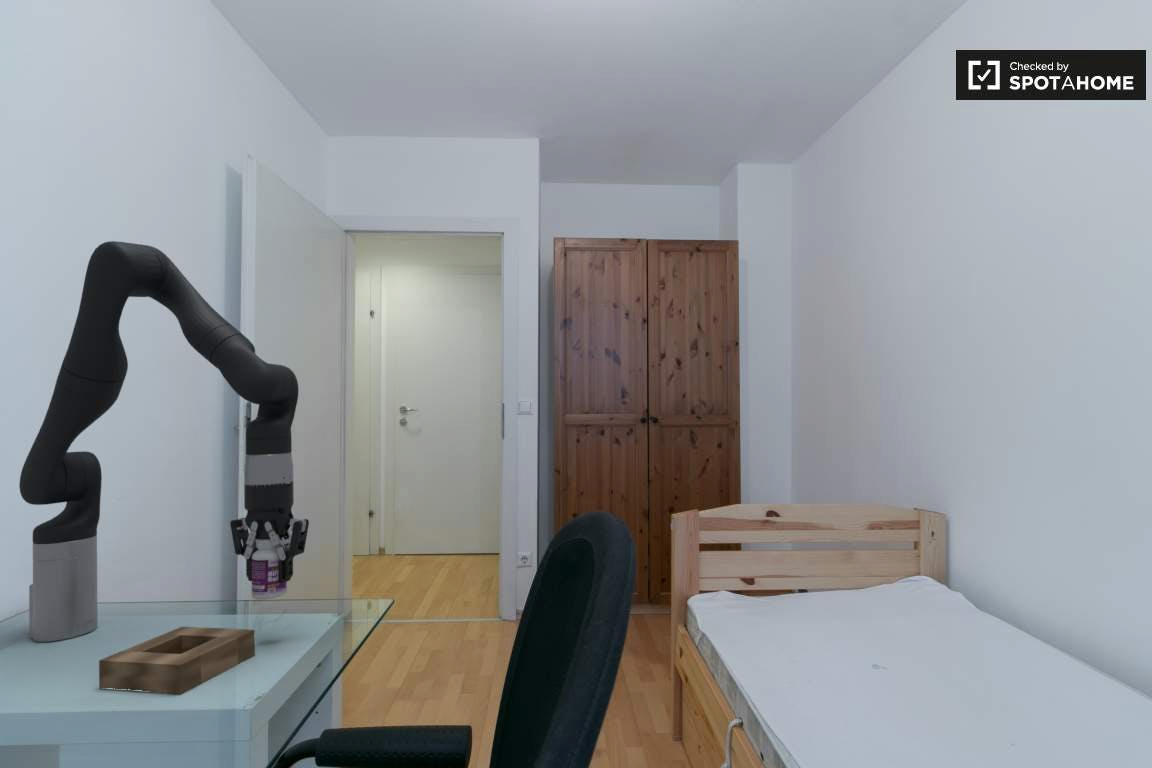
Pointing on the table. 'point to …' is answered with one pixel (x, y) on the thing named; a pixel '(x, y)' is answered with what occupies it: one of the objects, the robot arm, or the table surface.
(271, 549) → the pill bottle
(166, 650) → the well block
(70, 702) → the table surface
